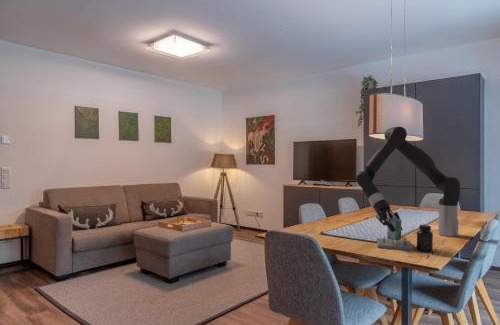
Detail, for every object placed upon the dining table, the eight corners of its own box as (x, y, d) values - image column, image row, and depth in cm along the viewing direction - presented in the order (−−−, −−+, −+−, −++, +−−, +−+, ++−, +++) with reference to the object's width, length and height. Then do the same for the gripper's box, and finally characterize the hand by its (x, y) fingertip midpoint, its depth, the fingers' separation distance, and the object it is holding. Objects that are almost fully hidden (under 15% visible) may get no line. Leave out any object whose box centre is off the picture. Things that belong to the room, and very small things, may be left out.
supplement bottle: (413, 248, 167) (414, 224, 166) (427, 248, 167) (427, 224, 167) (421, 252, 160) (422, 227, 160) (435, 252, 160) (436, 227, 160)
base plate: (409, 243, 176) (410, 235, 176) (413, 251, 163) (413, 242, 162) (376, 240, 181) (376, 233, 181) (377, 247, 168) (377, 239, 167)
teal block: (393, 237, 175) (394, 218, 174) (400, 239, 171) (401, 219, 170) (387, 238, 173) (387, 218, 172) (394, 240, 169) (395, 220, 168)
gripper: (373, 199, 175) (391, 227, 164) (392, 198, 181) (412, 225, 171) (365, 208, 179) (382, 236, 169) (384, 206, 186) (402, 233, 175)
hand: (397, 230), depth 170 cm, fingers closed on teal block, 4 cm apart
